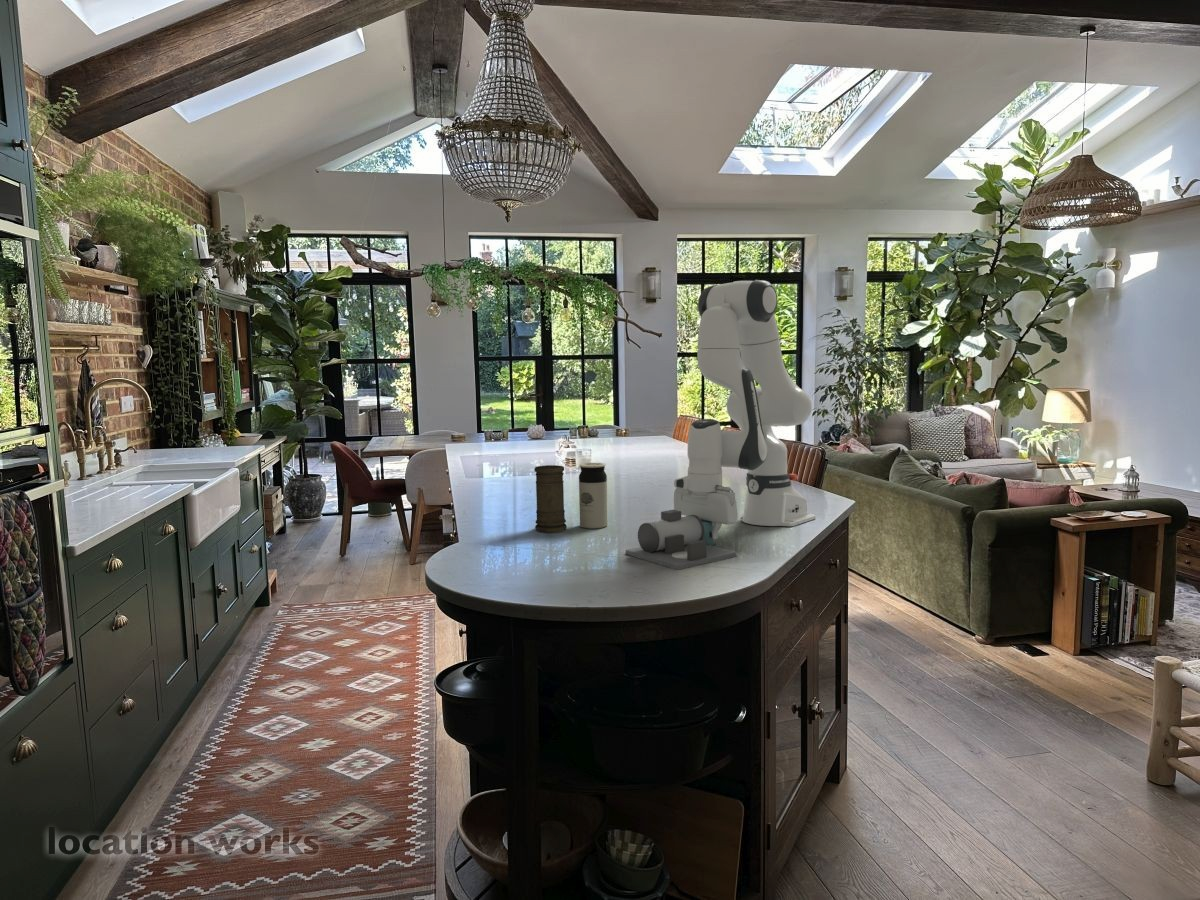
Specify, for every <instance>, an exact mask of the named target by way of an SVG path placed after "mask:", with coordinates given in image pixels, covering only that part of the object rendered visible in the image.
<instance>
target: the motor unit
mask: <svg viewBox="0 0 1200 900" xmlns="http://www.w3.org/2000/svg"><path fill="white" fill-rule="evenodd" d="M703 536H704V526H703V523H702V521H701V519H700V518H699V517H698V516H696V515H689V516H682V515H681V511H677V510H674V509H669V510H664V511H663V510H662V511H661V512H660V520H657V521H652V522H644V523H642V524H641V525H640V526H639V527H638V530H637V541H638V543H639V544H638V545H639V546H640V547H639V546H638V547H634V548H633V547H632V548H628V549H625V555H628V556H631V557H635V558H638V559H642V560H644V561H648V562H651V563H654V564H656V565H657V564H658V565H661V566H664V567H667V568H669V569H670V568H671V569H674V570H682V569H686V568H691V567H695V566H700V565H704V564H708V563H709V564H710V563H713V562H717V561H722V560H726V559H730V558H735V556H736V557H737V551H734V550H729V549H726V548H721V547H718V546H714V545H706V541H705V540H702V539H703Z"/></svg>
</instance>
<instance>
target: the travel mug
mask: <svg viewBox="0 0 1200 900" xmlns="http://www.w3.org/2000/svg"><path fill="white" fill-rule="evenodd" d="M606 465H607V464H606V463H603V462H584V463H580V464H579V467H580V473H579V474H578V493H579V495H578V497H579V500H578V501H579V505H578V506H579V526H580V527H581V528H583V529H589V530H593V529H594V530H595V529H597V528H598V529H603V528H606V527H607V526H608V476H607V474H606V471H605V467H606Z"/></svg>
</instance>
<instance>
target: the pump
mask: <svg viewBox="0 0 1200 900" xmlns="http://www.w3.org/2000/svg"><path fill="white" fill-rule="evenodd" d="M701 521H702V523H703V526H704V536H703V539H702V540H705V541H706V545H710V546H714V545H716V543H715V542H716V541H715V540H716V539H712V538H710V537H709V531H712V529H713V527H714V526H712V521H707V520H703V519H701Z"/></svg>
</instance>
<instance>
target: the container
mask: <svg viewBox="0 0 1200 900" xmlns="http://www.w3.org/2000/svg"><path fill="white" fill-rule="evenodd" d="M564 471H565V467H564V466H563V465H557V464H556V465H554V464H553V465H552V464H551V465H549V464H548V465H538V466H535V467H534V473H535V478H536V479H535V491H536V493H535V494H536V495H535V496H536V511H535V513H536V520H535V524H536V525H535V527H534V529H535V531H536V532H539V533H542V532H543V533H545V534H554V533H556V534H557V533H563V532H565V531H567V527H568V526H567V524H566V523H567V520H566V518H565V503H564V502H565V498H564V495H565V493H564V491H565V490H564Z"/></svg>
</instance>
